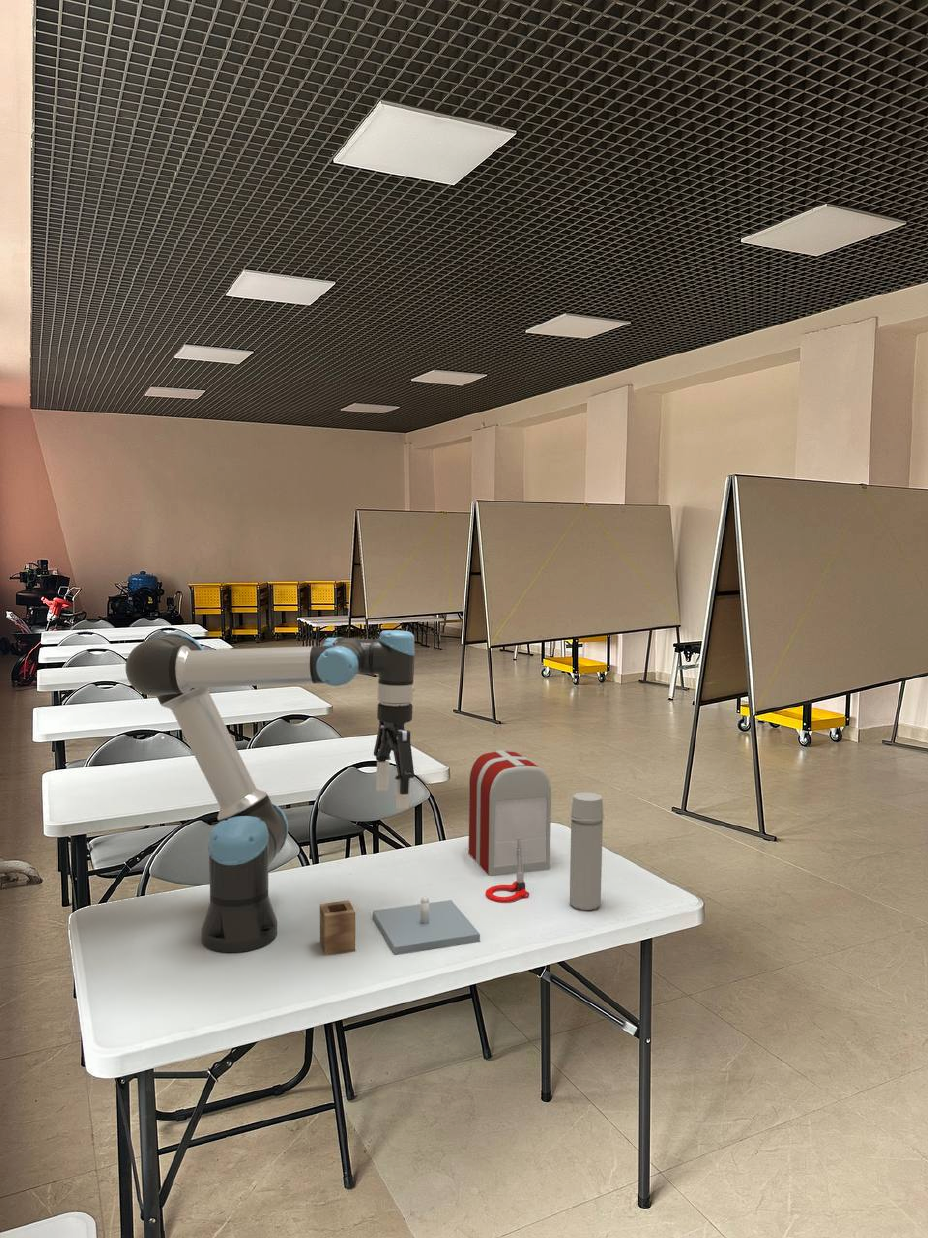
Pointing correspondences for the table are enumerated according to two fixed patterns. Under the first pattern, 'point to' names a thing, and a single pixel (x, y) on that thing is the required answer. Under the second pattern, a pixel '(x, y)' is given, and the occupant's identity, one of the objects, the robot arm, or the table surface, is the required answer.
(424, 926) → the pin plate
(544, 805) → the striped mailbox
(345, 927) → the block
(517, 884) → the tow hook
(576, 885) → the water bottle
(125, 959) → the table surface
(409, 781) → the robot arm
